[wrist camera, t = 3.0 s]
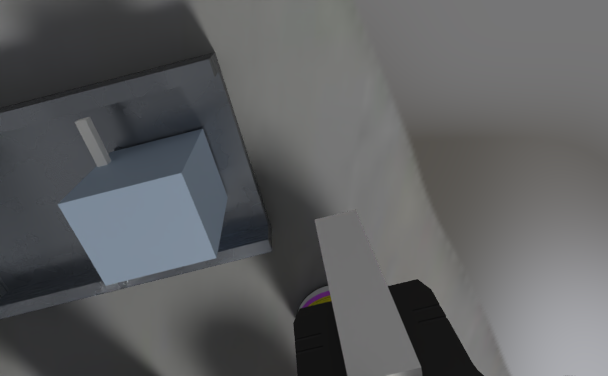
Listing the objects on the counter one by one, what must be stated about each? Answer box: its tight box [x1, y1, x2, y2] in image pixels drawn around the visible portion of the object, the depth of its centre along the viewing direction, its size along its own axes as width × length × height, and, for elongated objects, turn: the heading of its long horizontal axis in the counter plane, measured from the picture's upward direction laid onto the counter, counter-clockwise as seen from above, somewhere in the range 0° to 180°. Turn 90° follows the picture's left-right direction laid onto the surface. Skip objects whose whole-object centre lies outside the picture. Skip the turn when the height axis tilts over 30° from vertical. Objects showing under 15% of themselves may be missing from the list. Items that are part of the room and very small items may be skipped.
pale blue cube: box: [58, 117, 228, 286], centre depth 22 cm, size 6×8×7 cm
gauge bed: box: [0, 53, 272, 319], centre depth 23 cm, size 22×13×9 cm, turn 103°
